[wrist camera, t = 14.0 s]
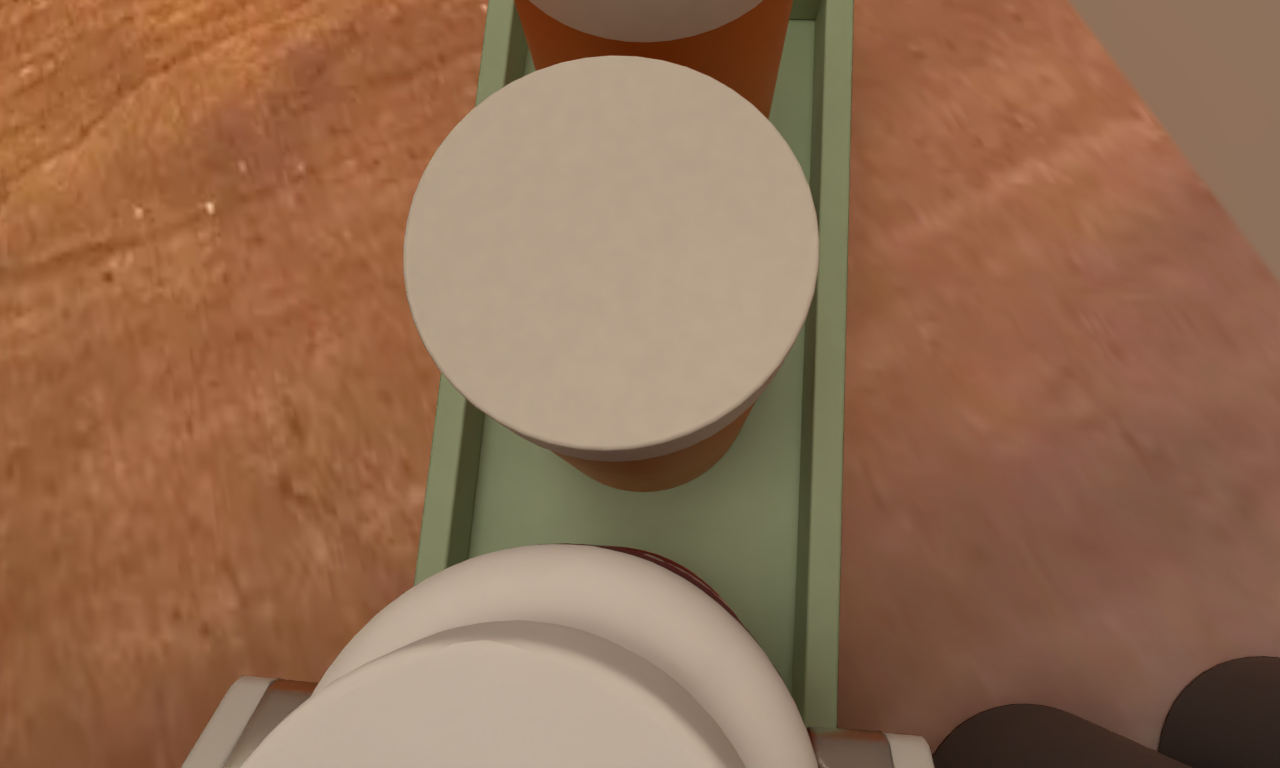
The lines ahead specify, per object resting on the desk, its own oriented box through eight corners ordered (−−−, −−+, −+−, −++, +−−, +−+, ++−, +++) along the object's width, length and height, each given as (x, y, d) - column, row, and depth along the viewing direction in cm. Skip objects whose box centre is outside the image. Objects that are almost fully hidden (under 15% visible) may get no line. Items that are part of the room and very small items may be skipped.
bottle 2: (602, 537, 21) (522, 533, 11) (499, 349, 23) (334, 175, 12) (794, 425, 22) (905, 312, 11) (682, 246, 23) (683, -14, 12)
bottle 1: (623, 279, 23) (572, 46, 12) (526, 116, 24) (400, -227, 13) (803, 178, 23) (909, -136, 12) (697, 23, 24) (711, -385, 14)
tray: (813, 892, 20) (832, 941, 17) (410, 850, 21) (373, 891, 18) (838, 10, 25) (855, -49, 22) (512, 0, 26) (494, -58, 23)
